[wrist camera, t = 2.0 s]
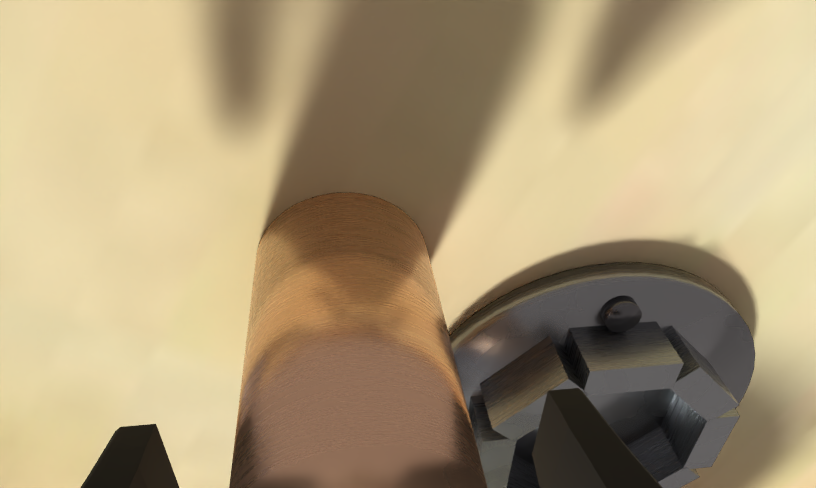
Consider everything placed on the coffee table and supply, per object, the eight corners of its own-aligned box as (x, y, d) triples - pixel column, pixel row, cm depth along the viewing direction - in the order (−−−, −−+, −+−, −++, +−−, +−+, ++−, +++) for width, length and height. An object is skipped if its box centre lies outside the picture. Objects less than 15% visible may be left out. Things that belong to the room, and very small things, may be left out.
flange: (409, 500, 23) (418, 564, 21) (419, 275, 16) (433, 340, 14) (682, 470, 24) (714, 528, 22) (795, 250, 17) (855, 307, 15)
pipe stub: (266, 332, 17) (244, 602, 11) (244, 197, 14) (200, 463, 8) (423, 320, 17) (478, 573, 12) (430, 188, 15) (505, 433, 9)
